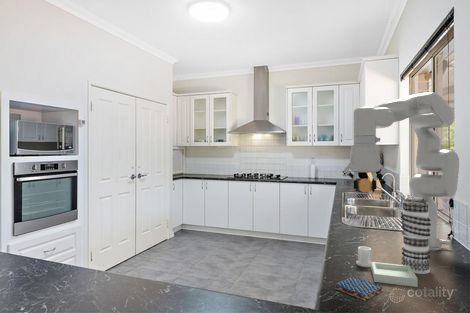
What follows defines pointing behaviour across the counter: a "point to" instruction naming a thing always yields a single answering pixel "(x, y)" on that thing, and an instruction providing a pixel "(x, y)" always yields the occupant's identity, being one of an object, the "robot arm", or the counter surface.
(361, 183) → the ball
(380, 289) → the woven mat
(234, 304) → the counter surface
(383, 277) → the tray
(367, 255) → the white octagonal socket
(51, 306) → the counter surface
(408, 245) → the patterned cylinder
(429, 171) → the robot arm
